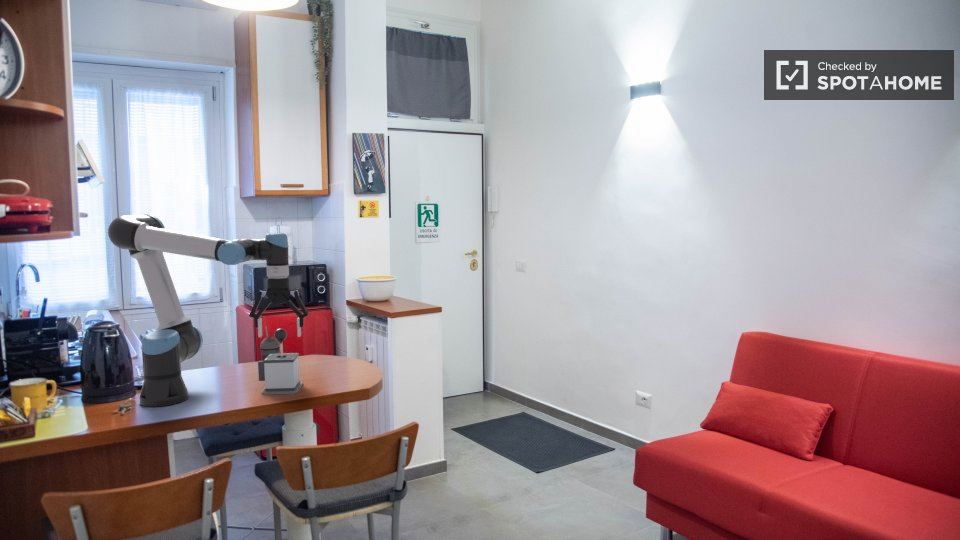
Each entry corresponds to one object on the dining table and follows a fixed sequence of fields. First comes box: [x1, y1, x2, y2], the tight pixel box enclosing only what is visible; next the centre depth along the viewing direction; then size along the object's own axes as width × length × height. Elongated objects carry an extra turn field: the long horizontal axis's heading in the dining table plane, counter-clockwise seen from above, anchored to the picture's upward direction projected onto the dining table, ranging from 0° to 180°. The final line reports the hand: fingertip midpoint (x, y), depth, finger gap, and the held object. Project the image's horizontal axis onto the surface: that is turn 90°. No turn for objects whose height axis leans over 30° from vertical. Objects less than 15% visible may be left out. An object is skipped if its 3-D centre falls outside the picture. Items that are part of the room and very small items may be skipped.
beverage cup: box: [259, 325, 280, 361], centre depth 261 cm, size 7×7×20 cm
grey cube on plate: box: [257, 352, 304, 396], centre depth 245 cm, size 14×12×12 cm
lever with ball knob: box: [273, 327, 288, 358], centre depth 244 cm, size 8×8×20 cm
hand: (279, 336), depth 243 cm, fingers open, 13 cm apart
